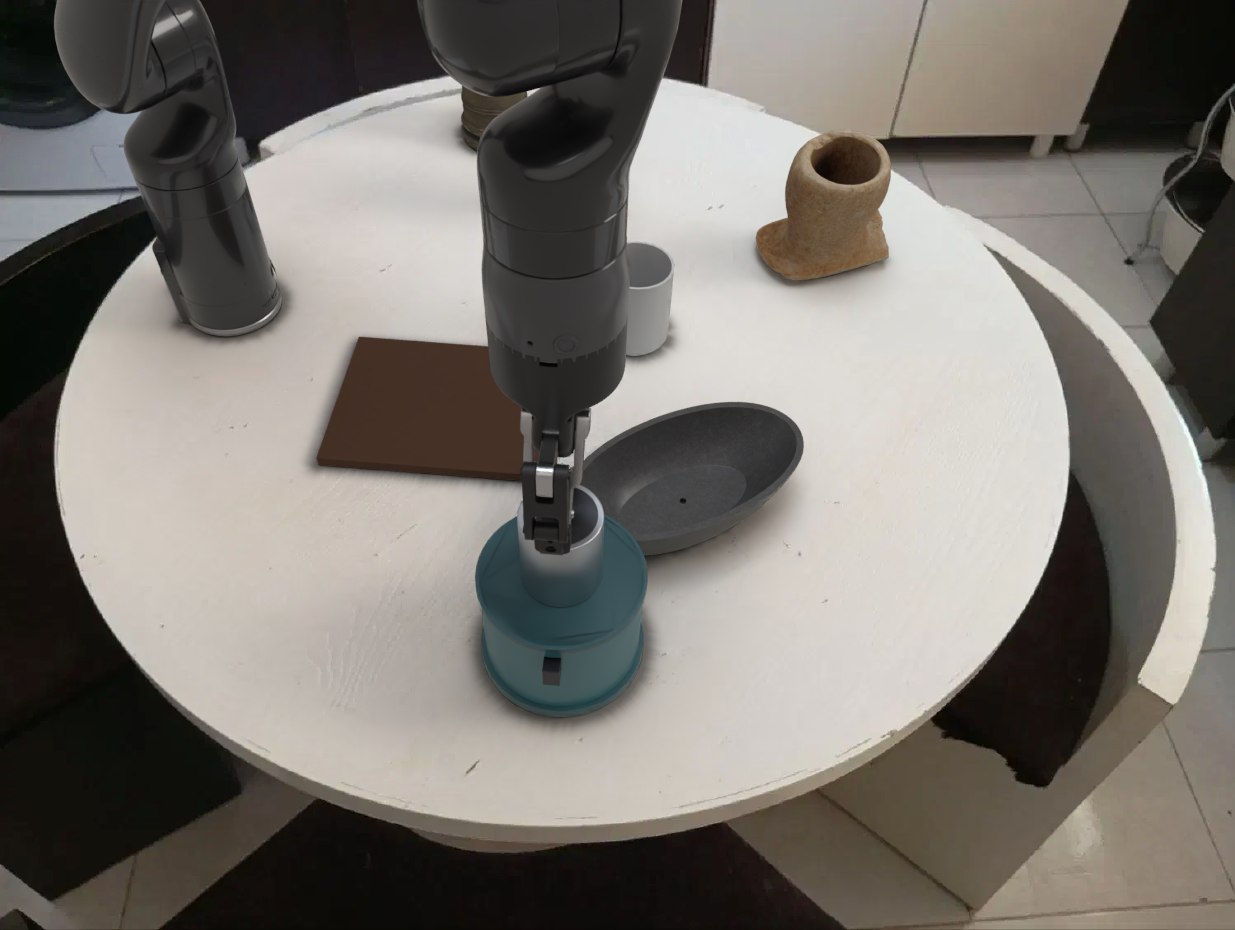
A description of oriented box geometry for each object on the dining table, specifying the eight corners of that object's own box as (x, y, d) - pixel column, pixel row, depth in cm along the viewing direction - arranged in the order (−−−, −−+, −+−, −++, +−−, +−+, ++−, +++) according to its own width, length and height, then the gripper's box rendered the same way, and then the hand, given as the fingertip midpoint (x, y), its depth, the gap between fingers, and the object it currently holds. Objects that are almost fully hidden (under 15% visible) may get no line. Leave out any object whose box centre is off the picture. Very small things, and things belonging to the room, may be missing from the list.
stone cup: (787, 306, 106) (813, 186, 94) (742, 239, 113) (761, 120, 101) (911, 279, 109) (951, 160, 98) (860, 216, 116) (892, 98, 105)
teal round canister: (467, 718, 75) (455, 653, 67) (496, 562, 84) (488, 489, 76) (637, 732, 74) (645, 669, 67) (647, 574, 83) (655, 502, 76)
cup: (677, 350, 101) (684, 282, 94) (582, 368, 99) (583, 300, 92) (655, 304, 105) (661, 236, 98) (564, 321, 103) (563, 252, 96)
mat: (318, 465, 90) (315, 458, 89) (360, 343, 100) (358, 336, 99) (538, 482, 89) (537, 475, 88) (557, 358, 99) (557, 351, 99)
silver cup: (516, 604, 69) (511, 546, 64) (526, 537, 73) (523, 477, 68) (598, 611, 69) (600, 553, 64) (605, 543, 73) (607, 483, 68)
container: (505, 163, 121) (496, 18, 107) (446, 139, 124) (430, -5, 110) (547, 130, 126) (543, -14, 112) (490, 107, 129) (479, -35, 115)
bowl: (822, 514, 88) (836, 470, 83) (604, 614, 81) (606, 572, 76) (746, 423, 95) (756, 378, 90) (539, 508, 87) (537, 463, 83)
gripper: (505, 217, 56) (518, 410, 69) (461, 397, 47) (485, 583, 60) (636, 226, 56) (625, 418, 69) (618, 409, 47) (609, 593, 60)
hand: (560, 495), depth 64 cm, fingers open, 8 cm apart
